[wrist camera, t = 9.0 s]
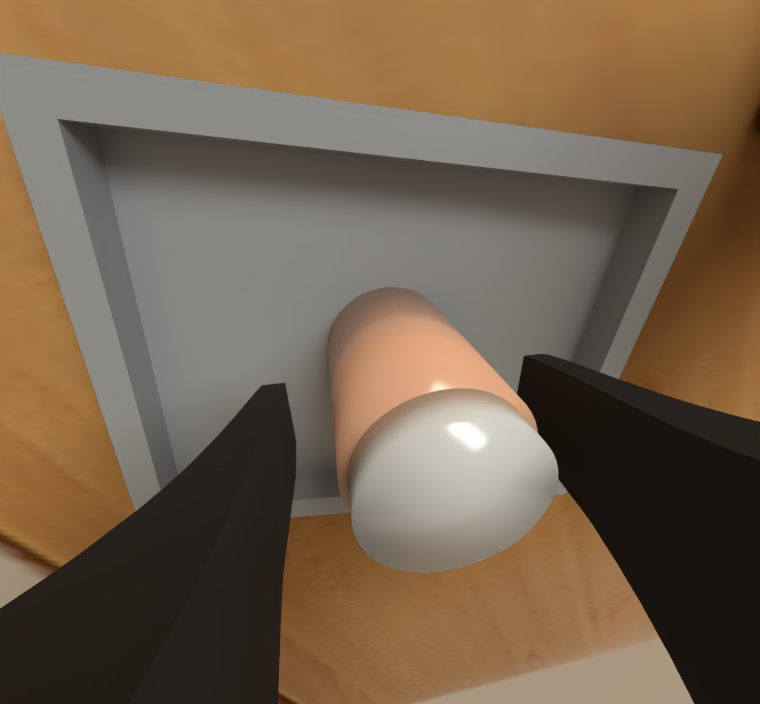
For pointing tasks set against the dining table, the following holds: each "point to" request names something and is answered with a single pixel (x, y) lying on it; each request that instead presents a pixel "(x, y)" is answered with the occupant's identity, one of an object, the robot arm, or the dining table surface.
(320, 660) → the dining table surface
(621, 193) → the tray
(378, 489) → the shaker
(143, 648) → the robot arm
